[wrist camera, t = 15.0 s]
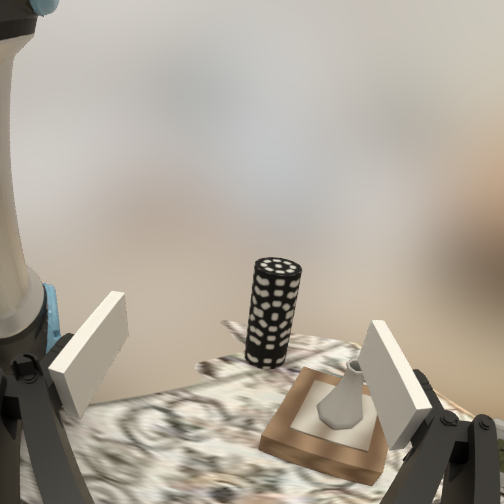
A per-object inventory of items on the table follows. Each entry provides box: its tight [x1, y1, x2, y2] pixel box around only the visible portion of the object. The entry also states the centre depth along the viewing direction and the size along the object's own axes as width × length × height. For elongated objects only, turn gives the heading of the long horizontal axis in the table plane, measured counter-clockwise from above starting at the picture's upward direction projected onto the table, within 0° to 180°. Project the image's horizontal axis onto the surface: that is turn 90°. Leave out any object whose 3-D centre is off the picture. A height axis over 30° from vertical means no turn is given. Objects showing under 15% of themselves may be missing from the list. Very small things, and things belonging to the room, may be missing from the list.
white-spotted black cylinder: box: [245, 257, 302, 369], centre depth 58 cm, size 8×8×20 cm
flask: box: [317, 359, 364, 429], centre depth 40 cm, size 7×7×10 cm
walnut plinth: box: [258, 367, 388, 486], centre depth 43 cm, size 18×18×4 cm
